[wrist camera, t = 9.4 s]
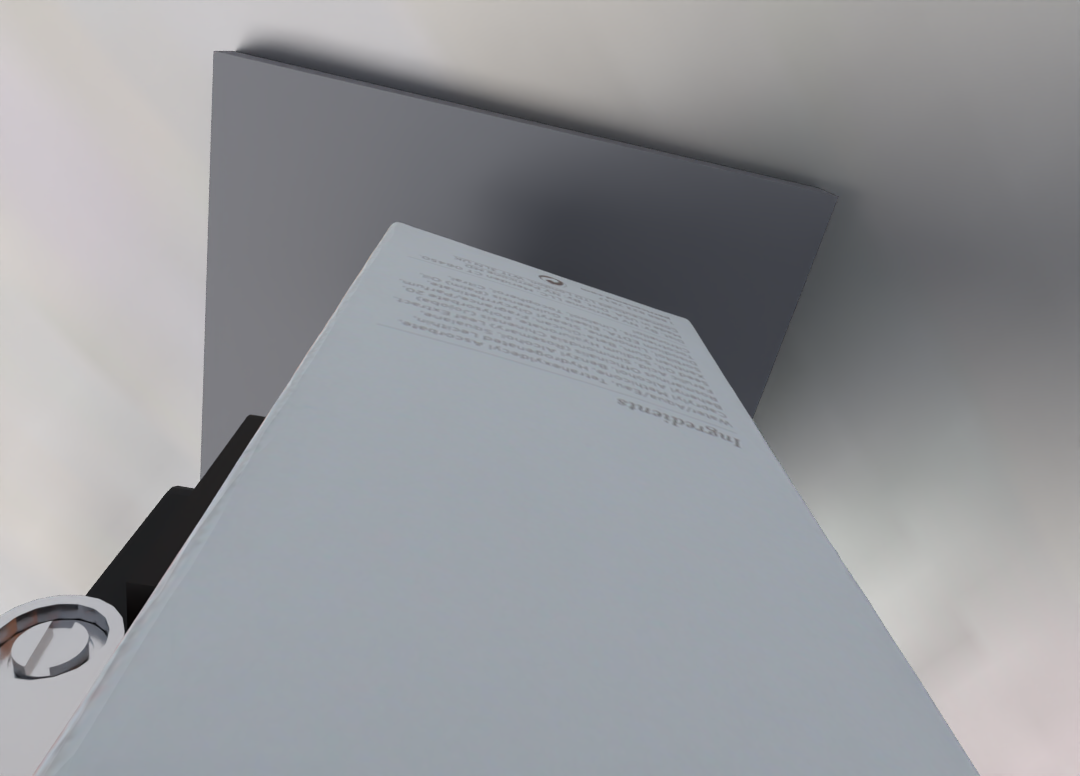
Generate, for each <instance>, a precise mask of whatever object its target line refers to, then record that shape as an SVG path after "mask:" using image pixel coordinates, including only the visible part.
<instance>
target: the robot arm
mask: <svg viewBox="0 0 1080 776" xmlns="http://www.w3.org/2000/svg"><path fill="white" fill-rule="evenodd" d="M265 418H266V417H263V416H258V415H252V414H250V415H248V416H247V417H246V419H245V420H244V422H243V423H242V424H241V426H240V427H239V428H238V430H237V431H236V432H235V434H234V435H233V437H232V438H231V439H230V441H229V442H228V443H227V445H226V446H225V448H224V449H223V450H222V452H221V453H220V454H219V456H218V457H217V458H216V460H215V461H214V463H213V464H212V465H211V467H210V468H209V469H208V471H207V472H206V474H205V475H204V476H203V478H202V479H201V480H200V482H199V483H198V484H197V486H196V487H195V489H194V488H188V487H182V486H175V487H172V488H171V489H170V490H169V491H168V492H167V493H166V494H165V495H164V496H163V498H162V499H161V500H160V502H159V503H158V504H157V505H156V507H155V508H154V509H153V510H152V512H151V513H150V514H149V516H148V517H147V518H146V519H145V521H144V522H143V523H142V524H141V526H140V527H139V528H138V530H137V531H136V532H135V533H134V535H133V536H132V537H131V538H130V540H129V541H128V542H127V543H126V545H125V546H124V547H123V549H122V550H121V551H120V552H119V554H118V555H117V556H116V557H115V559H114V560H113V561H112V563H111V564H110V565H109V566H108V568H107V569H106V570H105V571H104V573H103V574H102V575H101V577H100V578H99V579H98V580H97V582H96V583H95V584H94V585H93V587H92V588H91V589H90V590H89V592H88V593H87V594H86V596H83V595H58V596H52V597H47V598H41V599H36V600H34V601H31V602H28V603H25V604H23V605H20V606H17V607H14V608H13V609H11V610H9V611H8V612H6V613H4V614H2V615H1V616H0V776H32V775H33V774H34V772H35V771H36V769H37V768H38V766H39V765H40V763H41V762H42V760H43V759H44V757H45V756H46V754H47V753H48V751H49V750H50V748H51V747H52V745H53V744H54V743H55V741H56V740H57V738H58V737H59V735H60V734H61V732H62V731H63V729H64V728H65V726H66V725H67V723H68V722H69V720H70V719H71V717H72V715H73V714H74V712H75V711H76V709H77V708H78V706H79V705H80V703H81V702H82V700H83V699H84V697H85V696H86V694H87V692H88V691H89V689H90V688H91V686H92V685H93V683H94V682H95V680H96V679H97V677H98V676H99V674H100V673H101V671H102V670H103V668H104V666H105V665H106V663H107V662H108V660H109V659H110V657H111V655H112V654H113V652H114V651H115V649H116V647H117V646H118V644H119V643H120V641H121V640H122V638H123V637H124V635H125V634H126V632H127V631H128V629H129V628H130V626H131V625H132V623H133V622H134V620H135V619H136V617H137V616H138V614H139V613H140V611H141V610H142V608H143V607H144V605H145V604H146V602H147V600H148V599H149V597H150V596H151V594H152V593H153V591H154V590H155V588H156V587H157V585H158V583H159V582H160V580H161V579H162V577H163V576H164V574H165V573H166V571H167V570H168V568H169V566H170V565H171V563H172V562H173V560H174V559H175V557H176V556H177V554H178V553H179V551H180V550H181V548H182V547H183V545H184V544H185V542H186V541H187V539H188V538H189V536H190V535H191V533H192V532H193V530H194V528H195V527H196V525H197V524H198V522H199V521H200V519H201V518H202V516H203V515H204V513H205V512H206V510H207V509H208V507H209V505H210V504H211V502H212V501H213V499H214V497H215V496H216V494H217V493H218V491H219V490H220V488H221V486H222V485H223V483H224V482H225V480H226V479H227V477H228V475H229V474H230V472H231V471H232V469H233V468H234V466H235V464H236V463H237V461H238V460H239V458H240V457H241V455H242V454H243V452H244V450H245V449H246V447H247V446H248V444H249V443H250V441H251V440H252V438H253V436H254V435H255V433H256V432H257V430H258V429H259V427H260V426H261V424H262V422H263V421H264V419H265Z"/></svg>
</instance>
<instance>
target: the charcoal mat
mask: <svg viewBox="0 0 1080 776" xmlns="http://www.w3.org/2000/svg"><path fill="white" fill-rule="evenodd" d="M837 199H838V196H836V195H834V194H831V193H829V192H827V191H825V190H822V189H820V188H817V187H812V186H808V185H804V184H799V183H795V182H791V181H787V180H782V179H778V178H774V177H770V176H765V175H761V174H757V173H752V172H748V171H744V170H740V169H735V168H731V167H727V166H723V165H718V164H714V163H710V162H705V161H701V160H697V159H693V158H688V157H684V156H680V155H675V154H671V153H667V152H663V151H658V150H654V149H650V148H646V147H641V146H637V145H633V144H628V143H624V142H620V141H616V140H611V139H607V138H603V137H599V136H594V135H590V134H586V133H581V132H577V131H573V130H569V129H564V128H560V127H556V126H551V125H547V124H543V123H539V122H534V121H530V120H526V119H522V118H517V117H513V116H509V115H504V114H500V113H496V112H492V111H487V110H483V109H479V108H475V107H470V106H466V105H462V104H457V103H453V102H449V101H445V100H440V99H436V98H432V97H427V96H423V95H419V94H415V93H410V92H406V91H402V90H398V89H393V88H389V87H385V86H380V85H376V84H372V83H368V82H363V81H359V80H355V79H351V78H346V77H342V76H338V75H333V74H329V73H325V72H321V71H316V70H312V69H308V68H303V67H299V66H295V65H291V64H286V63H282V62H278V61H274V60H269V59H265V58H261V57H256V56H252V55H248V54H244V53H239V52H235V51H214V55H213V87H212V120H211V152H210V184H209V216H208V248H207V281H206V313H205V345H204V377H203V409H202V442H201V474H200V480H201V479H202V478H203V476H204V475H205V474H206V472H207V471H208V469H209V468H210V467H211V465H212V464H213V463H214V461H215V460H216V458H217V457H218V456H219V454H220V453H221V452H222V450H223V449H224V448H225V446H226V445H227V443H228V442H229V441H230V439H231V438H232V437H233V435H234V434H235V432H236V431H237V430H238V428H239V427H240V426H241V424H242V423H243V422H244V420H245V419H246V417H247V416H248V415H250V414H252V415H258V416H263V417H266V416H267V415H268V413H269V412H270V410H271V409H272V407H273V406H274V404H275V402H276V401H277V399H278V398H279V396H280V395H281V393H282V392H283V390H284V389H285V387H286V386H287V384H288V383H289V381H290V380H291V378H292V376H293V375H294V373H295V371H296V370H297V368H298V366H299V365H300V363H301V362H302V360H303V359H304V357H305V356H306V354H307V352H308V351H309V349H310V348H311V346H312V345H313V343H314V342H315V340H316V339H317V337H318V336H319V334H320V333H321V332H322V330H323V329H324V327H325V325H326V324H327V322H328V321H329V319H330V318H331V316H332V315H333V313H334V312H335V310H336V308H337V307H338V305H339V304H340V302H341V300H342V299H343V297H344V295H345V294H346V292H347V291H348V289H349V288H350V286H351V285H352V283H353V282H354V280H355V279H356V277H357V276H358V274H359V273H360V271H361V270H362V268H363V267H364V265H365V264H366V262H367V260H368V259H369V257H370V255H371V254H372V252H373V251H374V250H375V248H376V247H377V245H378V244H379V242H380V241H381V239H382V238H383V236H384V235H385V233H386V232H387V230H388V228H389V227H390V226H391V225H392V224H393V223H395V222H400V223H404V224H406V225H409V226H412V227H414V228H417V229H421V230H424V231H427V232H430V233H433V234H436V235H439V236H442V237H445V238H448V239H451V240H454V241H456V242H459V243H462V244H465V245H468V246H471V247H474V248H477V249H480V250H483V251H486V252H489V253H492V254H495V255H498V256H501V257H504V258H507V259H510V260H513V261H516V262H519V263H522V264H525V265H528V266H531V267H534V268H537V269H540V270H543V271H546V272H549V273H552V274H555V275H557V276H560V277H563V278H566V279H569V280H572V281H575V282H578V283H581V284H584V285H587V286H590V287H593V288H596V289H599V290H602V291H605V292H608V293H611V294H614V295H617V296H619V297H622V298H625V299H628V300H631V301H634V302H637V303H640V304H643V305H646V306H649V307H652V308H654V309H657V310H660V311H664V312H667V313H670V314H673V315H676V316H679V317H682V318H685V319H687V320H689V321H690V323H691V324H692V325H693V327H694V328H695V330H696V332H697V333H698V335H699V337H700V338H701V340H702V341H703V343H704V344H705V346H706V348H707V349H708V351H709V353H710V354H711V356H712V357H713V359H714V360H715V362H716V363H717V365H718V367H719V368H720V370H721V372H722V373H723V375H724V376H725V378H726V380H727V381H728V383H729V384H730V386H731V387H732V389H733V390H734V392H735V393H736V395H737V397H738V398H739V400H740V401H741V403H742V405H743V406H744V408H745V409H746V411H747V412H748V414H749V415H750V417H751V418H752V419H753V416H754V413H755V411H756V408H757V406H758V403H759V401H760V398H761V395H762V393H763V390H764V388H765V385H766V382H767V380H768V377H769V375H770V372H771V370H772V367H773V364H774V362H775V359H776V357H777V354H778V351H779V349H780V346H781V344H782V341H783V339H784V336H785V333H786V331H787V328H788V326H789V323H790V320H791V318H792V315H793V313H794V310H795V308H796V305H797V302H798V300H799V297H800V295H801V292H802V289H803V287H804V284H805V282H806V279H807V277H808V274H809V271H810V269H811V266H812V264H813V261H814V258H815V256H816V253H817V251H818V248H819V246H820V243H821V240H822V238H823V235H824V233H825V230H826V227H827V225H828V222H829V220H830V217H831V215H832V212H833V209H834V207H835V204H836V202H837Z"/></svg>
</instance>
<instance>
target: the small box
mask: <svg viewBox="0 0 1080 776" xmlns="http://www.w3.org/2000/svg"><path fill="white" fill-rule="evenodd" d="M32 776H980V775H979V773H978V771H977V770H976V768H975V767H974V765H973V764H972V762H971V761H970V759H969V758H968V756H967V754H966V753H965V751H964V750H963V748H962V747H961V745H960V743H959V742H958V740H957V739H956V737H955V735H954V734H953V732H952V731H951V729H950V727H949V726H948V724H947V723H946V721H945V719H944V718H943V716H942V715H941V713H940V712H939V710H938V708H937V707H936V705H935V704H934V702H933V700H932V699H931V697H930V696H929V694H928V692H927V691H926V689H925V688H924V686H923V685H922V683H921V681H920V680H919V678H918V677H917V675H916V674H915V672H914V671H913V669H912V667H911V666H910V664H909V663H908V661H907V660H906V658H905V657H904V655H903V654H902V652H901V651H900V649H899V648H898V646H897V645H896V643H895V641H894V640H893V638H892V637H891V635H890V634H889V632H888V631H887V629H886V628H885V626H884V624H883V623H882V621H881V619H880V618H879V616H878V615H877V613H876V611H875V610H874V608H873V607H872V605H871V603H870V602H869V600H868V599H867V597H866V596H865V594H864V593H863V591H862V590H861V588H860V587H859V585H858V584H857V582H856V581H855V579H854V578H853V576H852V575H851V573H850V572H849V570H848V569H847V568H846V566H845V565H844V563H843V562H842V560H841V558H840V556H839V555H838V553H837V551H836V550H835V549H834V547H833V546H832V544H831V543H830V542H829V540H828V538H827V537H826V535H825V534H824V532H823V530H822V529H821V527H820V526H819V524H818V522H817V521H816V519H815V518H814V516H813V515H812V513H811V511H810V510H809V508H808V506H807V505H806V503H805V502H804V500H803V499H802V497H801V496H800V494H799V493H798V491H797V490H796V488H795V487H794V485H793V483H792V482H791V480H790V478H789V477H788V475H787V473H786V472H785V470H784V468H783V467H782V465H781V464H780V462H779V461H778V460H777V458H776V457H775V456H774V454H773V452H772V451H771V449H770V447H769V446H768V444H767V442H766V441H765V439H764V438H763V436H762V435H761V433H760V431H759V430H758V428H757V427H756V425H755V423H754V422H753V420H752V418H751V417H750V415H749V414H748V412H747V411H746V409H745V408H744V406H743V405H742V403H741V401H740V400H739V398H738V397H737V395H736V393H735V392H734V390H733V389H732V387H731V386H730V384H729V383H728V381H727V380H726V378H725V376H724V375H723V373H722V372H721V370H720V368H719V367H718V365H717V363H716V362H715V360H714V359H713V357H712V356H711V354H710V353H709V351H708V349H707V348H706V346H705V344H704V343H703V341H702V340H701V338H700V337H699V335H698V333H697V332H696V330H695V328H694V327H693V325H692V324H691V323H690V321H689V320H687V319H685V318H682V317H679V316H676V315H673V314H670V313H667V312H664V311H660V310H657V309H654V308H652V307H649V306H646V305H643V304H640V303H637V302H634V301H631V300H628V299H625V298H622V297H619V296H617V295H614V294H611V293H608V292H605V291H602V290H599V289H596V288H593V287H590V286H587V285H584V284H581V283H578V282H575V281H572V280H569V279H566V278H563V277H560V276H557V275H555V274H552V273H549V272H546V271H543V270H540V269H537V268H534V267H531V266H528V265H525V264H522V263H519V262H516V261H513V260H510V259H507V258H504V257H501V256H498V255H495V254H492V253H489V252H486V251H483V250H480V249H477V248H474V247H471V246H468V245H465V244H462V243H459V242H456V241H454V240H451V239H448V238H445V237H442V236H439V235H436V234H433V233H430V232H427V231H424V230H421V229H417V228H414V227H412V226H409V225H406V224H404V223H400V222H395V223H393V224H392V225H391V226H390V227H389V228H388V230H387V232H386V233H385V235H384V236H383V238H382V239H381V241H380V242H379V244H378V245H377V247H376V248H375V250H374V251H373V252H372V254H371V255H370V257H369V259H368V260H367V262H366V264H365V265H364V267H363V268H362V270H361V271H360V273H359V274H358V276H357V277H356V279H355V280H354V282H353V283H352V285H351V286H350V288H349V289H348V291H347V292H346V294H345V295H344V297H343V299H342V300H341V302H340V304H339V305H338V307H337V308H336V310H335V312H334V313H333V315H332V316H331V318H330V319H329V321H328V322H327V324H326V325H325V327H324V329H323V330H322V332H321V333H320V334H319V336H318V337H317V339H316V340H315V342H314V343H313V345H312V346H311V348H310V349H309V351H308V352H307V354H306V356H305V357H304V359H303V360H302V362H301V363H300V365H299V366H298V368H297V370H296V371H295V373H294V375H293V376H292V378H291V380H290V381H289V383H288V384H287V386H286V387H285V389H284V390H283V392H282V393H281V395H280V396H279V398H278V399H277V401H276V402H275V404H274V406H273V407H272V409H271V410H270V412H269V413H268V415H267V416H266V418H265V419H264V421H263V422H262V424H261V426H260V427H259V429H258V430H257V432H256V433H255V435H254V436H253V438H252V440H251V441H250V443H249V444H248V446H247V447H246V449H245V450H244V452H243V454H242V455H241V457H240V458H239V460H238V461H237V463H236V464H235V466H234V468H233V469H232V471H231V472H230V474H229V475H228V477H227V479H226V480H225V482H224V483H223V485H222V486H221V488H220V490H219V491H218V493H217V494H216V496H215V497H214V499H213V501H212V502H211V504H210V505H209V507H208V509H207V510H206V512H205V513H204V515H203V516H202V518H201V519H200V521H199V522H198V524H197V525H196V527H195V528H194V530H193V532H192V533H191V535H190V536H189V538H188V539H187V541H186V542H185V544H184V545H183V547H182V548H181V550H180V551H179V553H178V554H177V556H176V557H175V559H174V560H173V562H172V563H171V565H170V566H169V568H168V570H167V571H166V573H165V574H164V576H163V577H162V579H161V580H160V582H159V583H158V585H157V587H156V588H155V590H154V591H153V593H152V594H151V596H150V597H149V599H148V600H147V602H146V604H145V605H144V607H143V608H142V610H141V611H140V613H139V614H138V616H137V617H136V619H135V620H134V622H133V623H132V625H131V626H130V628H129V629H128V631H127V632H126V634H125V635H124V637H123V638H122V640H121V641H120V643H119V644H118V646H117V647H116V649H115V651H114V652H113V654H112V655H111V657H110V659H109V660H108V662H107V663H106V665H105V666H104V668H103V670H102V671H101V673H100V674H99V676H98V677H97V679H96V680H95V682H94V683H93V685H92V686H91V688H90V689H89V691H88V692H87V694H86V696H85V697H84V699H83V700H82V702H81V703H80V705H79V706H78V708H77V709H76V711H75V712H74V714H73V715H72V717H71V719H70V720H69V722H68V723H67V725H66V726H65V728H64V729H63V731H62V732H61V734H60V735H59V737H58V738H57V740H56V741H55V743H54V744H53V745H52V747H51V748H50V750H49V751H48V753H47V754H46V756H45V757H44V759H43V760H42V762H41V763H40V765H39V766H38V768H37V769H36V771H35V772H34V774H33V775H32Z"/></svg>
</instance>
